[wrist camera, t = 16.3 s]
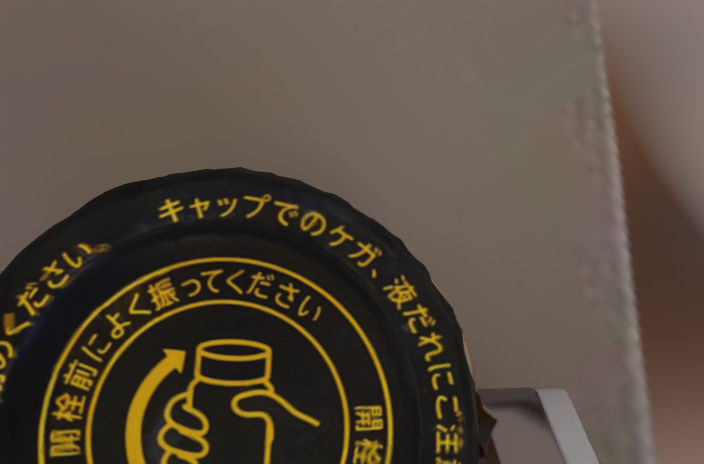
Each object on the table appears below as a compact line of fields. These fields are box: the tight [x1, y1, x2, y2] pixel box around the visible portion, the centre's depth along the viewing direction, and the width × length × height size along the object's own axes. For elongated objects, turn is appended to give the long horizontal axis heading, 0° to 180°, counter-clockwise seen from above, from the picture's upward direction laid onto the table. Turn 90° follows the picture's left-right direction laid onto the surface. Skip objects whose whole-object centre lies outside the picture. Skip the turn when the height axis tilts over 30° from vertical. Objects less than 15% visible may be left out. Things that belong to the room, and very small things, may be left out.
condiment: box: [0, 167, 479, 464], centre depth 12 cm, size 7×8×12 cm
